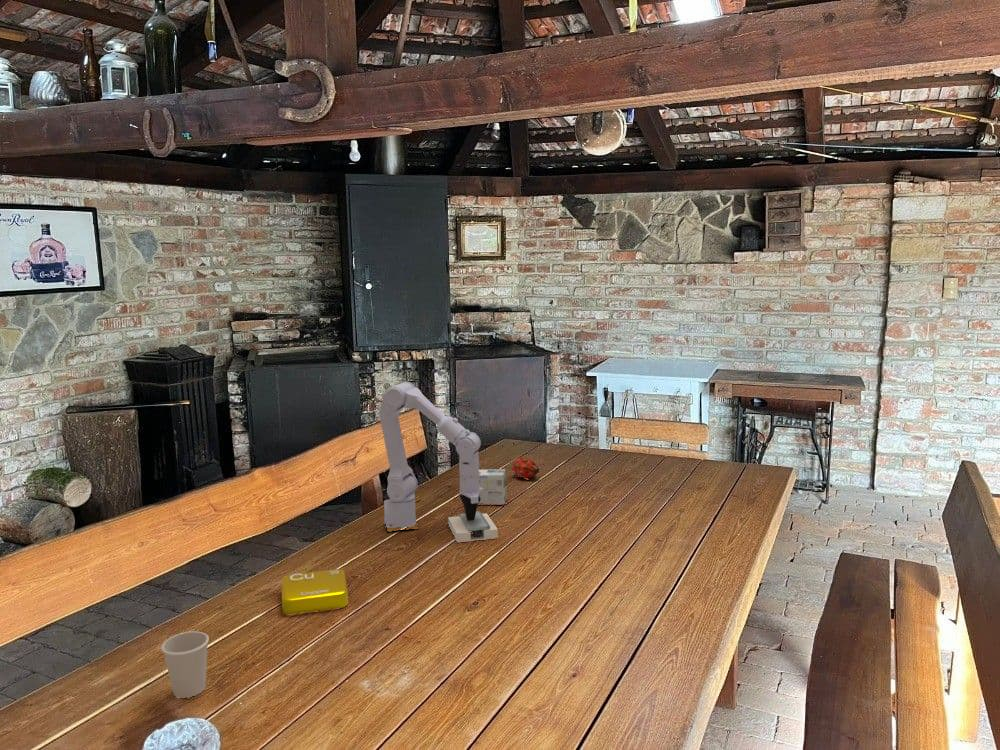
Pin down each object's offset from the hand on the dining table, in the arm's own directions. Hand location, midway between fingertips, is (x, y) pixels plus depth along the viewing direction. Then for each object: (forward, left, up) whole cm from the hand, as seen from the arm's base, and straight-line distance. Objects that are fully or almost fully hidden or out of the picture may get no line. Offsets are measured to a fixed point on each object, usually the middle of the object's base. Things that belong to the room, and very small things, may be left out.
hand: (470, 519), depth 222 cm
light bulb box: (+12, +25, -4) cm, 28 cm away
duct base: (0, 0, -4) cm, 4 cm away
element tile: (-45, -31, -5) cm, 55 cm away
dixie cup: (-68, -65, -4) cm, 95 cm away
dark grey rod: (+1, 0, -3) cm, 3 cm away
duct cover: (+1, 0, -1) cm, 2 cm away
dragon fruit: (+30, +48, -4) cm, 57 cm away
